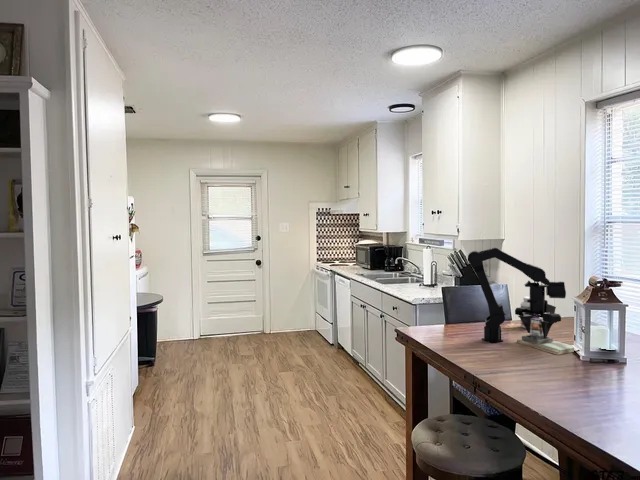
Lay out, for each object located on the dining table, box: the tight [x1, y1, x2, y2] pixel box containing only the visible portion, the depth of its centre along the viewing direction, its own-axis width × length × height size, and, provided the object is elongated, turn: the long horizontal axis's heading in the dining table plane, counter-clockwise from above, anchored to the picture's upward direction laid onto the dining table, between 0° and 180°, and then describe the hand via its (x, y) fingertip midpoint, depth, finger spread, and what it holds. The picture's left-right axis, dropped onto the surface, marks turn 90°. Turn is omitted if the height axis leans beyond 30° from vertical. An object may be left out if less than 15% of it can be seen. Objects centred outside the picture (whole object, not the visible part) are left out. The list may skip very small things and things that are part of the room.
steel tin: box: [529, 317, 544, 340], centre depth 192 cm, size 5×5×10 cm
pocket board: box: [516, 334, 575, 356], centre depth 188 cm, size 12×20×3 cm, turn 23°
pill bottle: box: [520, 296, 540, 329], centre depth 219 cm, size 8×8×14 cm
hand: (537, 335), depth 192 cm, fingers open, 8 cm apart
